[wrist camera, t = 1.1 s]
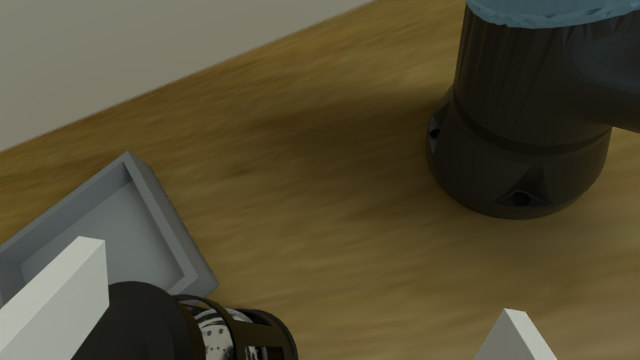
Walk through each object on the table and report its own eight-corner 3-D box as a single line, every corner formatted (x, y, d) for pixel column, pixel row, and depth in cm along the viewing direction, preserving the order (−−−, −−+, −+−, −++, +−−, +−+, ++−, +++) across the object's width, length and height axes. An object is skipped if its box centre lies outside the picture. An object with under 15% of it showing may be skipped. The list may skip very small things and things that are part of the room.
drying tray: (149, 166, 44) (127, 150, 41) (219, 284, 35) (198, 277, 32) (19, 265, 42) (-16, 257, 39) (58, 418, 33) (17, 425, 30)
